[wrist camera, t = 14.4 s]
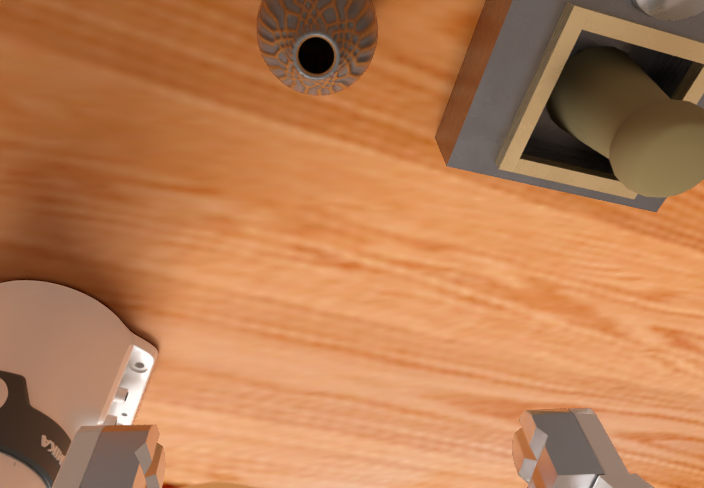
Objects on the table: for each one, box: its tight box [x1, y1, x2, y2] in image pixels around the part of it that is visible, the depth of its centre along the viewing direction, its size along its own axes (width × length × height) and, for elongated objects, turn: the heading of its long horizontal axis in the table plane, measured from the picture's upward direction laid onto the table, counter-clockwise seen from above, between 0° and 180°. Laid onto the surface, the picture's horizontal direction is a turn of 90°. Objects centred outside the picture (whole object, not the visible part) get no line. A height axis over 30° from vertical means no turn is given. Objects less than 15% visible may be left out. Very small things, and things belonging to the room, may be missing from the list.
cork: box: [547, 46, 704, 198], centre depth 30 cm, size 6×6×11 cm
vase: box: [257, 0, 378, 95], centre depth 29 cm, size 7×7×9 cm
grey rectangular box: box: [435, 0, 704, 212], centre depth 31 cm, size 18×16×6 cm
